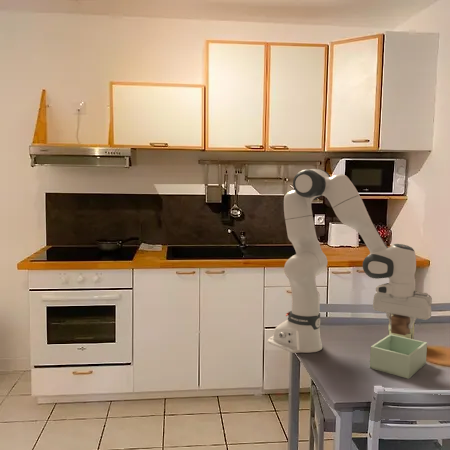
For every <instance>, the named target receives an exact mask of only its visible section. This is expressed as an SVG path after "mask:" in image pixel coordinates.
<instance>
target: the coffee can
mask: <svg viewBox="0 0 450 450" xmlns="http://www.w3.org/2000/svg"><path fill="white" fill-rule="evenodd" d="M393 315H395V314H392V315H391V317H392V316H393ZM411 321H412V320H410V322H411ZM415 324H416V321H415V322H414V323H413V328H412V329H410V332H409V333H408V334H406V335H400V334H395V333H391V325H389V324H388V334H387V336H388V335H389V334H391V335H396V336H400V337H405V338H409V339H413V340H415Z"/></svg>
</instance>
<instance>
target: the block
mask: <svg viewBox="0 0 450 450" xmlns="http://www.w3.org/2000/svg"><path fill="white" fill-rule="evenodd" d="M408 323H410V317H408V316H402V315H397V314H395V315H393V316H392V321H391V333H395V334H400V335H406V334H408V333H409V332H410V329H408V328H407V324H408Z"/></svg>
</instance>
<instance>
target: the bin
mask: <svg viewBox="0 0 450 450" xmlns="http://www.w3.org/2000/svg"><path fill="white" fill-rule="evenodd" d="M427 348H428V342H427V341H422V340H418V339H414V340H413V339H409V338H405V337H400V336H396V335H391V334H389V335H388V334H387V335H386V336H385V337H384V338H382V339H380V340H378V341H377V342H376V343H374V344H372V345H371V346H370V353H369V369H372V370H376V371H380V372H383V373H385V374H390V375H394V376H397V377H401V378H404V379H407V380H408V379H409V380H410V378H412V376H414V375H415V374H416V373H417V372H418V371H419V370H421V368H423V367H424V366H425V365H426V364H427V354H428V349H427Z"/></svg>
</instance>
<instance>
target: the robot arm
mask: <svg viewBox="0 0 450 450" xmlns="http://www.w3.org/2000/svg"><path fill="white" fill-rule="evenodd" d="M292 187H293V189H292V190H290V191H287V193H286V194H285V195H284V197H283V212H284V213H283V215H284V220H285V221H284V222H285V226H286V233H287V234H286V235H287V239H288V240H289V242H290V243H291V244H292V247H293V248H294V250H295V254H294V255H292V256H290V257H289V258H288V259H287V260H286V261H285V263H284V266H283V267H284V268H283V270H284V274H285V276H286V277H287V278H288V281H289V285H290V290H291V310H290V311H288V312H287V313H285V317H287V319H286V320H284V321H282V322H281V323H279V324H278V325H277V326H276V327H275V328H274V331H273V335H272V336H270V337H269V338H268V339H267V344H269V345H272V346H275V347H277V348H279V349H282V350H285V351H287V352H290V353H293V354H297V353H298V354H299V353H316V352H319V351H321V350H322V349H323V348H324V347H323V343H322V340H321V333H320V331H321V330H320V327H321V313H320V300H321V294H320V292H319V291H318V288H317V283H316V278H317V276H320V275H321V274H322V273H323V272H324V271H325V269H327V266H328V258H327V255H326V254H325V253H324V252H323V250H322V248H321V247H322V246H321V244H320V242H319V240H318V237H317V232H316V228H315V222H314V221H315V220H314V217H313V210H312V202H313V201H314V200H315V201H316V200H318V199H319V198H322V197H325V198H327V201H328V202H329V204H330V206H331V208H332V210H333V212H334V214H335V216H336V217H337V218H338V220H339V221H340V223H342V224H343V225H345V226H347V227H349V228H351V229H354V230H355V231H356V232H357V233H358V234H359V235H360V237H361V239H362V240H363V242H364V244H365V246H366V247H367V248H368V251H369V254H368V255H367V256H365V257H364V259H363V261H362V269H363V272H364V274H365V275H366V276H368V277H370V278H371V279H375V280H376V279H378V280H379V279H389V280H388V283H387V282H386V283H382V284H379V285H377V286H376V287H375V294H374V295H373V299H372V308H373V311H377V312H381V313H382V312H383V313H385V314H386V318H387V319H388V326H389V325H391V321H392V317H391V315H392V314H397V315H402V316H408V317H410V320H412V321H411V322H410V323H408V324H407V328H408V329H412V328H413V323H414V322H415V323H416V320H417V319H419V320H424V321H426V320H429V319H430V318H431V317H432V307H431V305H432V302H433V301H432V300H433V299H432V296H431V295H430V294H428V293H427V292H421V291H416V278H415V274H416V271H417V255H416V251H415V249H414V248H413V247H411V246H409V245H407V244H402V243H393V244H392V245H390V246H387V244H386V243H385V242H384V240H383V238H382V236H381V235H380V233H379V232H378V229H377V227H376V226H375V224H374V223H373V221H372V219H371V216H370V215H369V212H368V211H367V208H366V206H365V203H364V201H363V199H362V197H361V196H360V194H359V192H358V190H357V188H356V186H355V185H354V184H353V182H352V181H351V180H350V178H349V177H348V176H347V175H345V174H343V173H340V174H339V173H338V174H333V175H332V176H331V175H330V173H329V172H327V171H326V170H323V169H318V168H310V169H308V168H307V169H302V170H301V171H299V172H298V173H297V174H295V176H294V178H293V181H292Z"/></svg>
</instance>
